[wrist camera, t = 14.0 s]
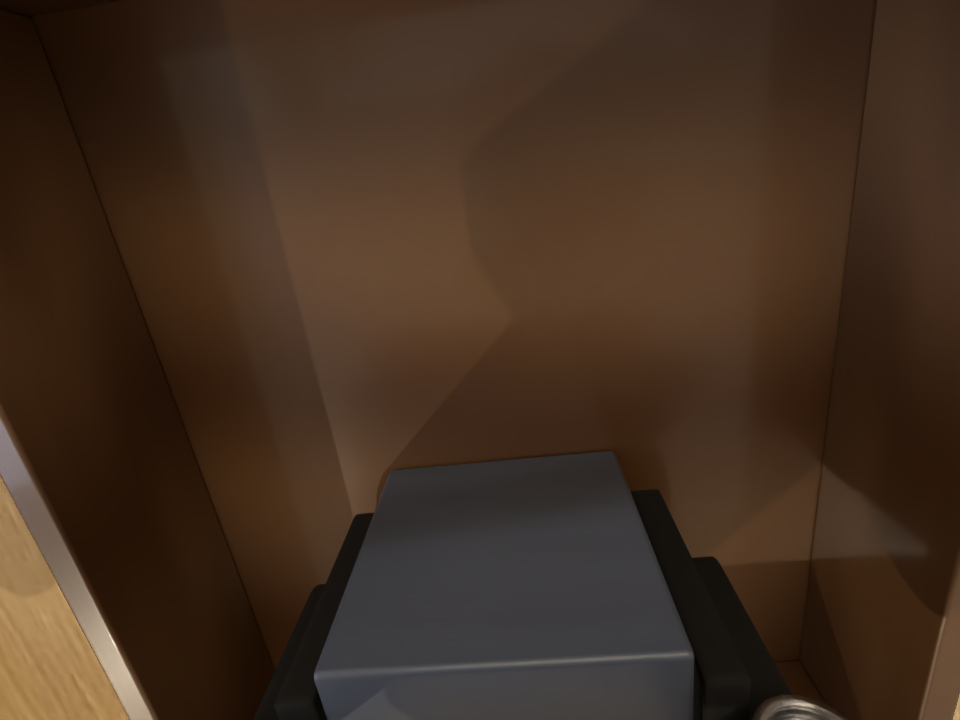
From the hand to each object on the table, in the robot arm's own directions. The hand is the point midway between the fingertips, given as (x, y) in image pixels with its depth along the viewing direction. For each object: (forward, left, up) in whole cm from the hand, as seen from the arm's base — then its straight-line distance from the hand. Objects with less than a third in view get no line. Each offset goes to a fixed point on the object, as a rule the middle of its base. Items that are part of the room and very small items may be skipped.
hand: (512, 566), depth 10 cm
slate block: (0, 0, 0) cm, 0 cm away
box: (-3, -2, -1) cm, 4 cm away
